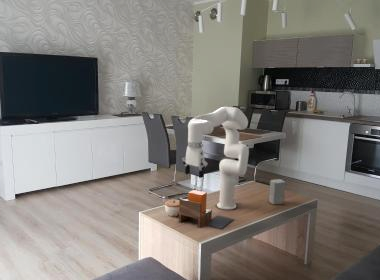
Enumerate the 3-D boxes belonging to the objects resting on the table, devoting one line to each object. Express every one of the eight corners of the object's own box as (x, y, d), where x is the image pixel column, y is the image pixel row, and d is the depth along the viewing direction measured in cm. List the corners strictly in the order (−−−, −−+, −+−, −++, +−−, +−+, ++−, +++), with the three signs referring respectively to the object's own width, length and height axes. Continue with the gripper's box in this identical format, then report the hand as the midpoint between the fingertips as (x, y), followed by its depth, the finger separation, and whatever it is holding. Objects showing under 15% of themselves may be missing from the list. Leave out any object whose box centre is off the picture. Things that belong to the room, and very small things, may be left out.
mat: (218, 216, 220) (218, 215, 220) (233, 219, 215) (233, 219, 215) (205, 225, 207) (205, 224, 207) (221, 229, 202) (221, 228, 202)
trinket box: (178, 210, 228) (179, 196, 226) (184, 216, 218) (185, 201, 217) (162, 212, 224) (162, 197, 223) (167, 218, 214) (168, 203, 213)
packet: (192, 207, 218) (193, 189, 216) (206, 210, 213) (206, 192, 211) (187, 210, 213) (188, 192, 211) (201, 213, 208) (201, 195, 206)
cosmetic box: (278, 200, 251) (280, 178, 248) (284, 204, 244) (286, 181, 241) (268, 201, 248) (269, 179, 245) (273, 205, 241) (275, 182, 238)
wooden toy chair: (191, 214, 222) (191, 192, 220) (211, 219, 215) (212, 197, 212) (178, 221, 210) (179, 198, 208) (199, 227, 203) (200, 203, 201)
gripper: (212, 146, 192) (211, 177, 195) (187, 141, 203) (186, 171, 206) (203, 148, 186) (202, 180, 189) (178, 143, 197) (177, 173, 200)
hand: (194, 175), depth 197 cm, fingers open, 9 cm apart
